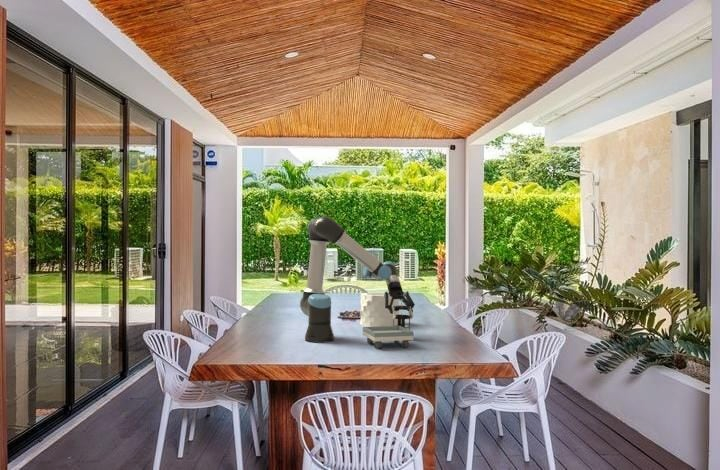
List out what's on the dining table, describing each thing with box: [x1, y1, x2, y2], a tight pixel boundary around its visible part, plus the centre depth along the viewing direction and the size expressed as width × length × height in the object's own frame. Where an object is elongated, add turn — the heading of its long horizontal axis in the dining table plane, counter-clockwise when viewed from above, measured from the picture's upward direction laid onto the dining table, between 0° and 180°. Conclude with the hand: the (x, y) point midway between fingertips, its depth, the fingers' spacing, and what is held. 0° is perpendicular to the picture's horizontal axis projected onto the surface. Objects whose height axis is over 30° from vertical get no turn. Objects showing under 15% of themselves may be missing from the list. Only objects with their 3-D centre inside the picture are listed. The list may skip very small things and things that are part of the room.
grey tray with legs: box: [362, 326, 414, 350], centre depth 306 cm, size 20×20×8 cm
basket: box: [359, 291, 400, 327], centre depth 376 cm, size 25×24×19 cm
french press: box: [393, 295, 411, 330], centre depth 328 cm, size 12×9×23 cm
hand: (403, 317), depth 325 cm, fingers closed on french press, 9 cm apart
